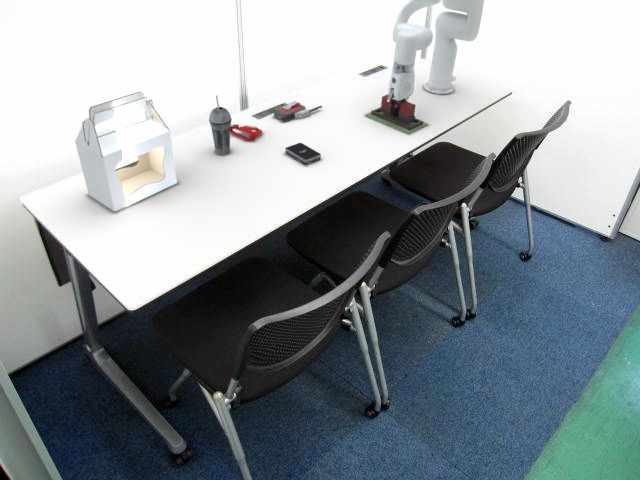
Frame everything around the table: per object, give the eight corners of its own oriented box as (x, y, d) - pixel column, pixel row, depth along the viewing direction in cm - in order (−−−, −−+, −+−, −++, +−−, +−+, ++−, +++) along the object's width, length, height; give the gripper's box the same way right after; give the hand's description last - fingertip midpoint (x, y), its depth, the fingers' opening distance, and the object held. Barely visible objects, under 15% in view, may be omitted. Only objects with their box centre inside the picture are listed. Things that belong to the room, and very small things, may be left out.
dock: (385, 107, 217) (385, 103, 216) (427, 125, 205) (428, 120, 204) (365, 116, 210) (365, 111, 209) (408, 134, 198) (409, 129, 197)
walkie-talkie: (286, 125, 201) (323, 110, 212) (286, 114, 198) (324, 99, 210) (270, 117, 205) (307, 103, 217) (270, 106, 203) (308, 93, 214)
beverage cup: (237, 149, 184) (234, 92, 172) (227, 158, 179) (223, 100, 167) (218, 145, 186) (213, 88, 174) (207, 154, 180) (202, 96, 168)
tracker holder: (259, 125, 197) (266, 130, 188) (257, 137, 199) (264, 142, 190) (226, 120, 192) (232, 126, 184) (225, 133, 194) (230, 139, 185)
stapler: (414, 120, 204) (417, 105, 200) (408, 123, 202) (411, 107, 198) (386, 108, 212) (387, 94, 208) (380, 111, 210) (381, 96, 206)
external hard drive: (305, 166, 177) (305, 160, 175) (284, 153, 183) (284, 147, 182) (321, 159, 180) (321, 154, 179) (300, 147, 187) (300, 142, 186)
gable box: (114, 213, 151) (92, 119, 134) (87, 195, 158) (64, 104, 141) (178, 183, 165) (166, 94, 148) (151, 168, 172) (137, 82, 155)
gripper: (397, 75, 188) (391, 123, 200) (425, 64, 198) (418, 111, 209) (380, 69, 193) (375, 117, 204) (409, 59, 202) (403, 105, 213)
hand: (397, 113), depth 206 cm, fingers closed on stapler, 3 cm apart
